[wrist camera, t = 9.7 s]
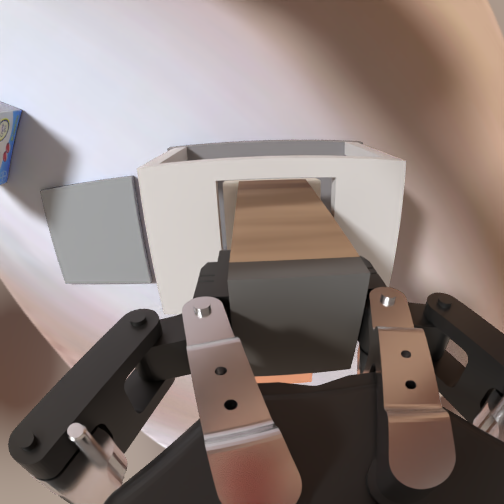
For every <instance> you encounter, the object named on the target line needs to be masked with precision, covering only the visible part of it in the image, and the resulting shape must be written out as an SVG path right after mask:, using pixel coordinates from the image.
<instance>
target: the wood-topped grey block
mask: <svg viewBox="0 0 504 504" xmlns="http://www.w3.org/2000/svg"><path fill="white" fill-rule="evenodd" d="M369 279H370V271H369V270H368V268H367V267H366V265H365V264H364V262H363V261H362V259H361V257H360V256H359V254H358V253H357V251H356V250H355V248H354V247H353V245H352V244H351V242H350V241H349V239H348V238H347V236H346V235H345V234H344V232H343V231H342V229H341V228H340V226H339V225H338V223H337V222H336V220H335V219H334V218H333V216H332V215H331V213H330V212H329V211H328V209H327V208H326V206H325V205H324V204H323V202H322V201H321V199H320V198H319V197H318V195H317V194H316V192H315V191H314V190H313V188H312V187H311V186H310V184H309V183H308V182H307V180H306V179H284V180H254V181H239V183H238V192H237V200H236V208H235V217H234V225H233V234H232V243H231V252H230V261H229V270H228V280H227V281H228V292H229V302H230V312H231V321H232V331H233V334H234V337H236V336H238V337H239V339H240V341H241V344H242V346H243V349H244V351H245V354H246V357H247V359H248V362H249V364H250V367H251V369H252V372H253V374H254V377H257V376H278V375H293V374H306V373H317V372H327V371H336V370H345V369H350V368H351V364H352V360H353V356H354V352H355V348H356V344H357V339H358V335H359V331H360V326H361V321H362V316H363V312H364V307H365V301H366V296H367V291H368V285H369Z"/></svg>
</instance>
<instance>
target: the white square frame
mask: <svg viewBox="0 0 504 504" xmlns="http://www.w3.org/2000/svg"><path fill="white" fill-rule="evenodd" d="M405 172H406V161H405V160H402V159H400V158H397V157H395V156H392V155H390V154H387V153H385V152H382V151H379V150H377V149H374V148H371V147H368V146H366V145H363V143H362V142H359V141H339V140H263V141H239V142H222V143H208V144H196V145H186V146H176V147H170V148H168V151H167V152H165V153H163V154H162V155H160V156H158V157H156V158H154V159H153V160H151V161H149V162H147V163H146V164H144V165H142V166H140V167H139V168H137V174H138V181H139V188H140V195H141V202H142V208H143V214H144V220H145V226H146V232H147V237H148V242H149V248H150V253H151V258H152V263H153V268H154V272H155V277H156V282H157V286H158V291H159V295H160V299H161V304H162V308H163V312H164V314H181V313H182V307H183V306H184V304H185V303H187V302H188V301H190V300H191V299H193V296H194V292H195V289H196V285H197V282H198V278H199V274H200V270H201V268H202V267H203V266H204V265H205V264H206V263H207V262H217V261H218V256H219V251H220V250H227V243H226V228H225V213H224V198H223V182H224V181H230V180H251V179H279V178H317V179H319V180H320V184H321V201H322V202H323V204H324V205H325V206H326V208H327V209H328V211H329V212H330V213H331V215H332V216H333V218H334V219H335V220H336V222H337V223H338V225H339V226H340V228H341V229H342V231H343V232H344V234H345V235H346V236H347V238H348V239H349V241H350V242H351V244H352V245H353V247H354V248H355V250H356V251H357V253H358V254H359V256H362V257H364V258H365V259H367V260H368V261H370V263H371V264H372V266H373V267H374V269H375V270H376V271H377V274H379V276H380V277H381V279H382V280H383V281H384V283H385V284H386V286H387V287H389V285H390V280H391V275H392V270H393V264H394V259H395V253H396V247H397V241H398V234H399V227H400V220H401V212H402V203H403V194H404V184H405Z"/></svg>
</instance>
